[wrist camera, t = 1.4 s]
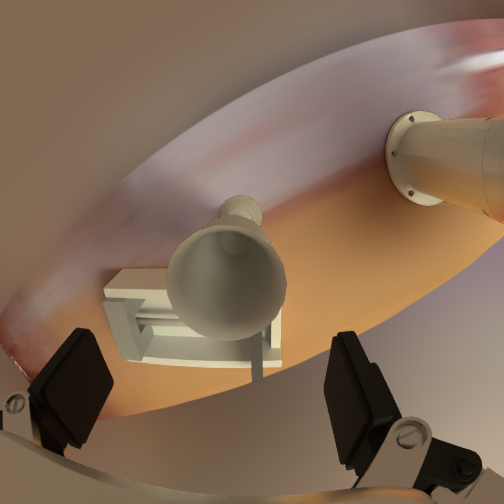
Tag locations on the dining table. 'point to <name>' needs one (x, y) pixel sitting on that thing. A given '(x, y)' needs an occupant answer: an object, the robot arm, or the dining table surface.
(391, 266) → the dining table surface
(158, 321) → the pusher
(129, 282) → the grey bracket
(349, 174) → the dining table surface
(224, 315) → the chalice
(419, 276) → the dining table surface
